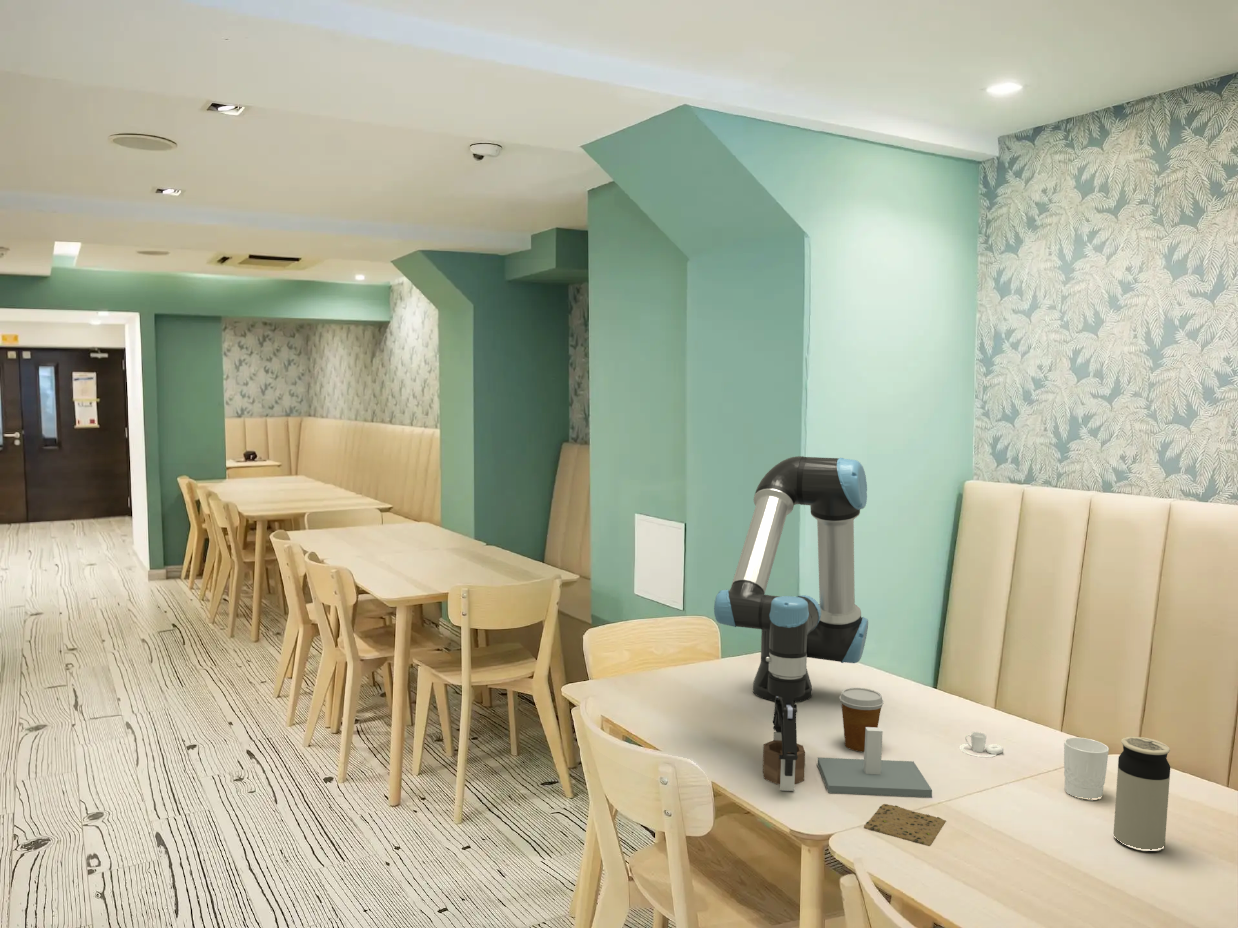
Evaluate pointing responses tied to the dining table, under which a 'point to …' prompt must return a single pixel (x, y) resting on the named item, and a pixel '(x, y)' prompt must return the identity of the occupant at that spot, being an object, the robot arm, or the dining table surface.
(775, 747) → the brown octagonal ring
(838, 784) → the shaft board
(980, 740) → the teacup and saucer
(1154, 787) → the travel mug
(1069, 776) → the white cup
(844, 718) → the disposable coffee cup
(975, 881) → the dining table surface
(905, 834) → the speckled square slab
